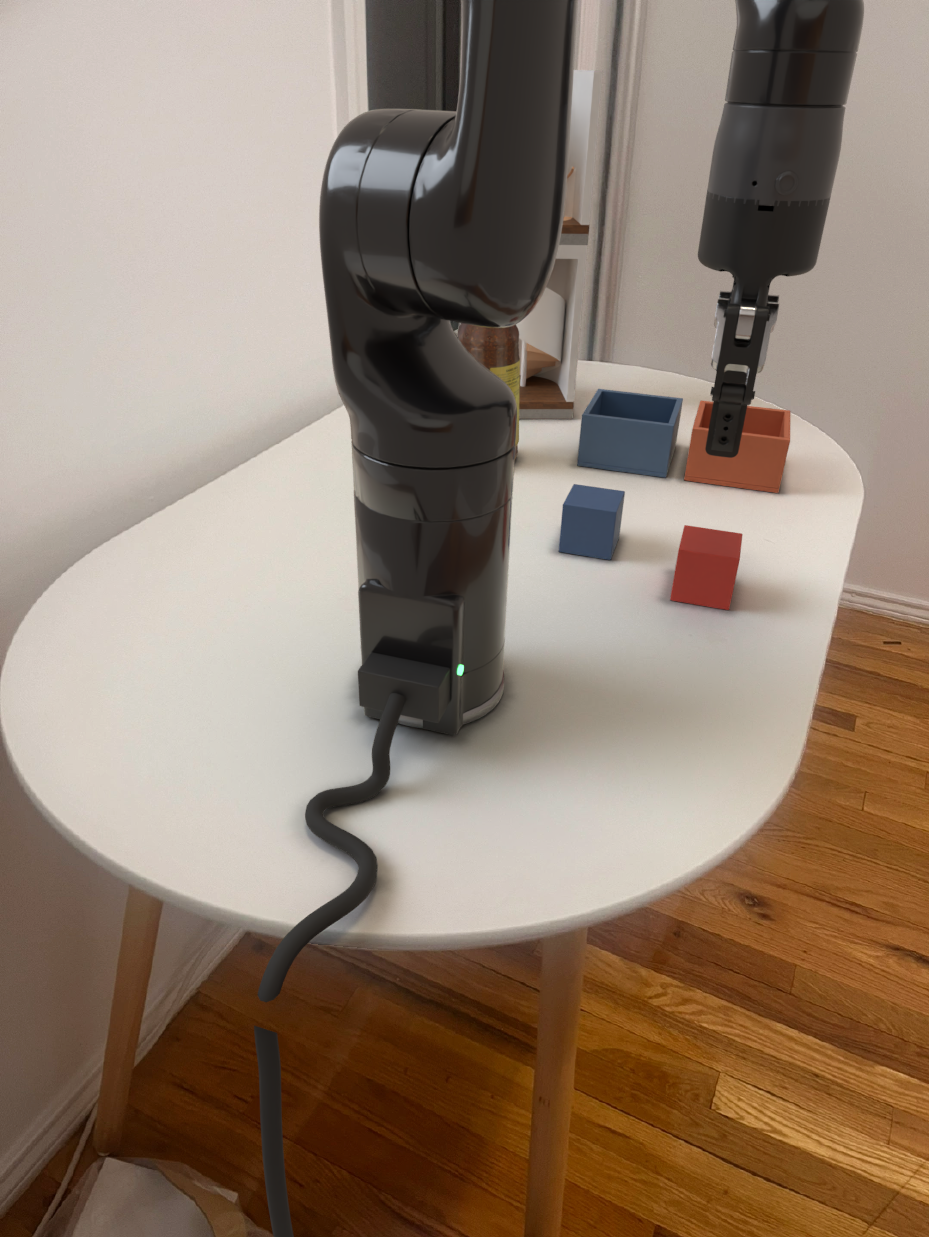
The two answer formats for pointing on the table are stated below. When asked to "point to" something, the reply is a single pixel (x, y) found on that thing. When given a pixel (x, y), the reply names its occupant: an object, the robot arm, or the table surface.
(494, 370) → the sauce bottle
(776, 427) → the red bin
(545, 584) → the table surface
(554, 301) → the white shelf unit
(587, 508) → the blue block
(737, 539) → the red block
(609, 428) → the blue bin
